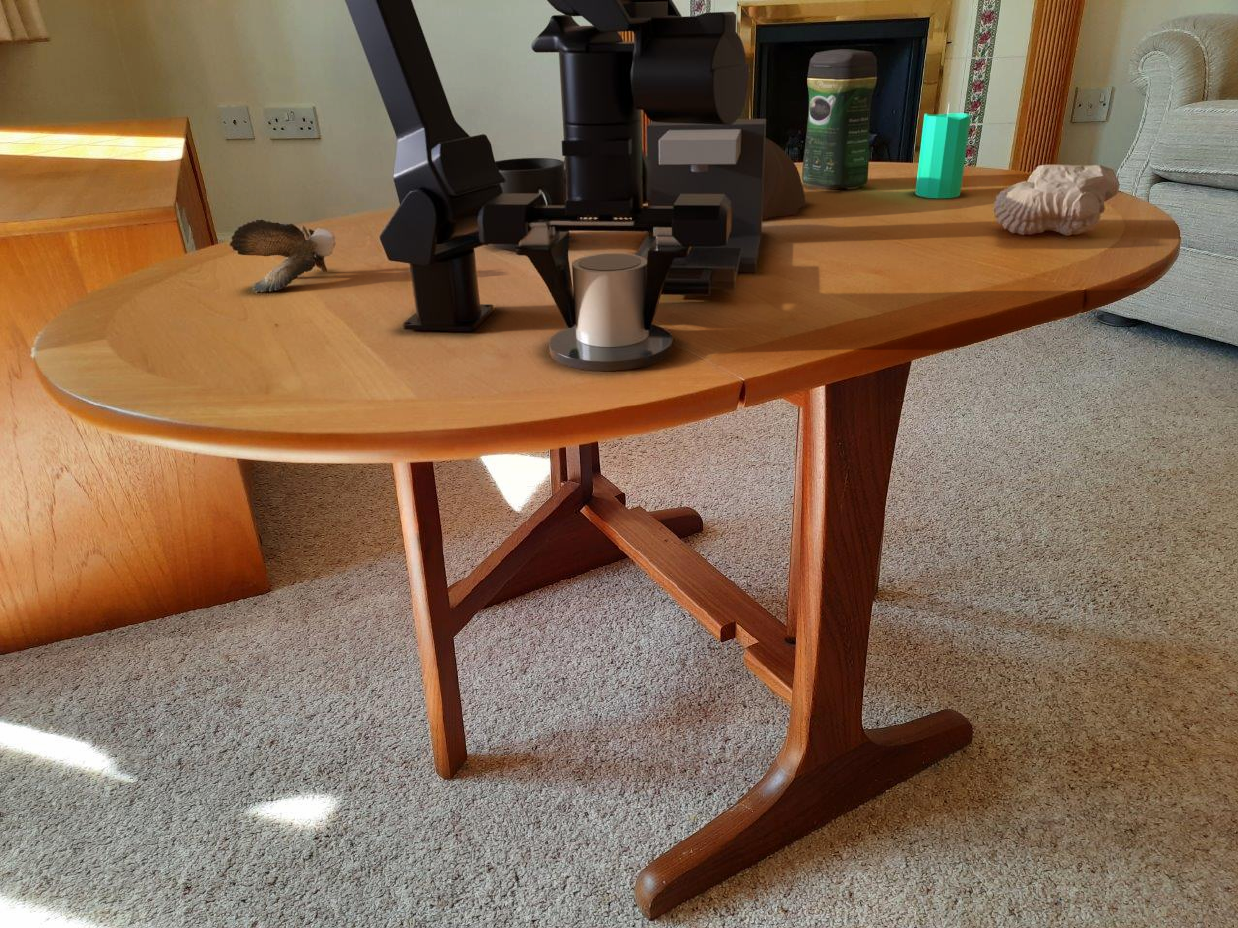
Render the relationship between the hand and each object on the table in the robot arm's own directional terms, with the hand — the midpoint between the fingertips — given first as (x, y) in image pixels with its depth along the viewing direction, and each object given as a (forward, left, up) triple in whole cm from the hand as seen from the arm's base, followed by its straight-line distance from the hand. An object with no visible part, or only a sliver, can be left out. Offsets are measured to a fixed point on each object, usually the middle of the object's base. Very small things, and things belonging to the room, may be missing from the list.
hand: (609, 327), depth 71 cm
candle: (+67, -34, -2) cm, 75 cm away
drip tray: (+17, -4, 0) cm, 17 cm away
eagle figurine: (+18, +38, -2) cm, 42 cm away
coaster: (0, 0, -2) cm, 2 cm away
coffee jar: (+74, -20, -2) cm, 77 cm away
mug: (+35, +16, -2) cm, 38 cm away
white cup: (+1, 0, -1) cm, 1 cm away
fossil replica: (+43, -43, -2) cm, 61 cm away
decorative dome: (+58, -6, -2) cm, 58 cm away
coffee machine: (+33, -4, -2) cm, 33 cm away
